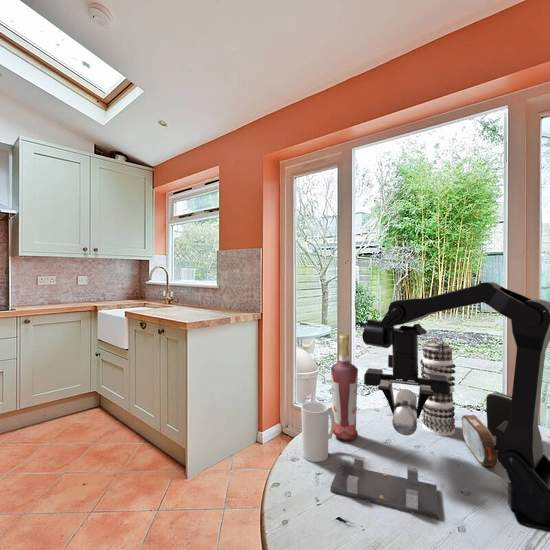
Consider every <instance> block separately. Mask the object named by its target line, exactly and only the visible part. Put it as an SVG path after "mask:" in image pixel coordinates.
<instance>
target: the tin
mask: <svg viewBox="0 0 550 550" xmlns="http://www.w3.org/2000/svg"><path fill="white" fill-rule="evenodd" d="M461 427H462V428H461V429H462V436H463V437H462V438H463V440H464V442H465V445H466V446H467V448H468V449H469V451H470V453H471V454H472V455H473V456H474V458H475V459H476V460H477V462H478V463H479V464H480V465H481V466H484V467H493V468H495V467H496V466H497V464H498V459H497V450H493V448H494V446H495V444H496V441H495V440H494V437H493V435H492V434H491V433H490V431H489V430H488V429H487V425H485V424H484V423H483V422H482V421H481V420H480V419H479V418H478V417H477V415H475V414H464V415H462V416H461Z"/></svg>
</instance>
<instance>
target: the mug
mask: <svg viewBox="0 0 550 550" xmlns="http://www.w3.org/2000/svg"><path fill="white" fill-rule="evenodd" d="M300 413H301V414H300V415H301V441H302V443H301V445H302V456H303V457H304V459H305V460H307V461H308V462H313V463H321V462H323V461H324V462H325V460H327V459H328V457H329V440H330V439H332V437H333V434H334V433H333V429H334V423H335V418H334V411H333V408H332V406H331V405H329V406H328V404H327V403H323V402H318V401H309V402H305V403H303V404H301V412H300ZM329 417H330V424H329Z"/></svg>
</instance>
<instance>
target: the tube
mask: <svg viewBox="0 0 550 550" xmlns="http://www.w3.org/2000/svg"><path fill="white" fill-rule="evenodd" d="M394 404H395V408H394V414H392V420H391V421H392V423H391V424H392V427H393V429H394V430H395V431H396V432H397V433H399V434H400V435H402V436H411V435H413V434H415V432H416V431H417V428H418V419H417V405H418V399H417V395H416V394H415V393H414V392H413V391H412V390H410V389H407V388H406V389H401V390H399V391H398V392H397V393H396V398H395V402H394Z"/></svg>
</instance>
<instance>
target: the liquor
mask: <svg viewBox="0 0 550 550" xmlns="http://www.w3.org/2000/svg"><path fill="white" fill-rule="evenodd" d="M338 342H339V343H338V344H339V356H338V362H337V363H335V364H333V365H332V366H331V367H330V373H331V391H332V406H333V408H332V411H333V413H334V418H335V423H334V429H333V434H334V436H336V438H337V439H339V440H341V439H342V440H341V441H346V440H347V441H352V440H353V439H355V438H356V437H357V436H358V430H357V402H358V401H357V399H358V383H359V382H358V376H359V369H358V367H357V366H355V364H352V363H350V362H351V361H350V353H349V351H350V350H349V342H350V335H348V334H339V335H338Z"/></svg>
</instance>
